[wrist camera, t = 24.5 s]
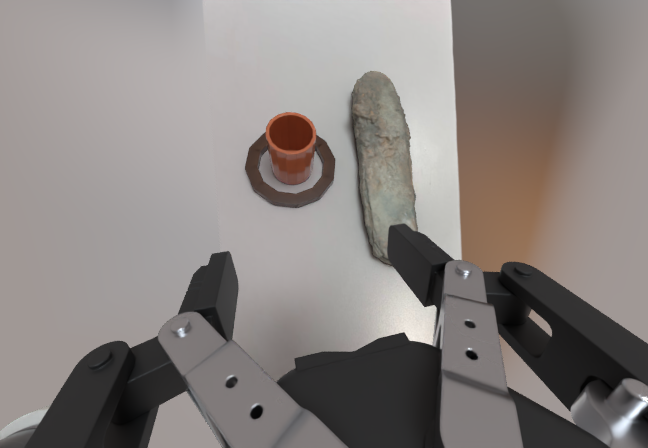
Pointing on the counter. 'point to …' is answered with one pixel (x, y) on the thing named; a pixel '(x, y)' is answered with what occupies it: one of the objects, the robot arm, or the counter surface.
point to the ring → (289, 198)
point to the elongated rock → (382, 159)
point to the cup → (291, 147)
